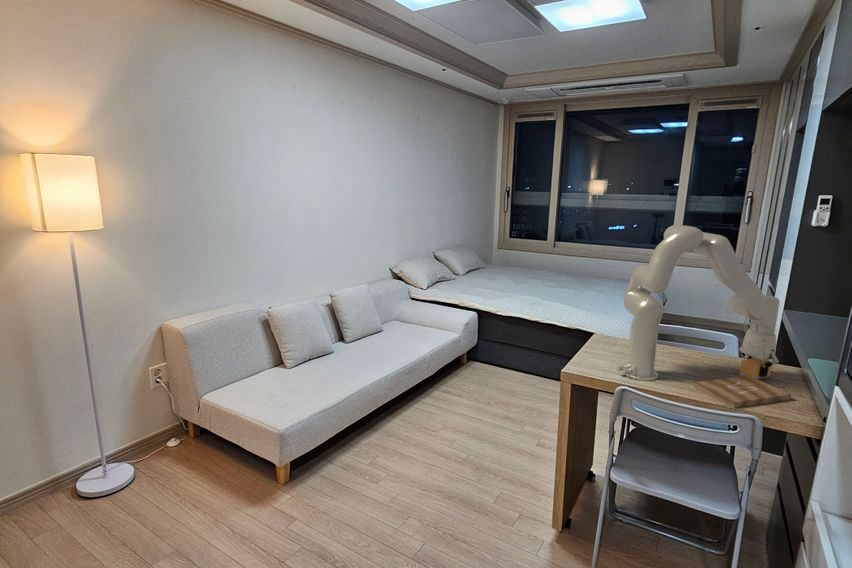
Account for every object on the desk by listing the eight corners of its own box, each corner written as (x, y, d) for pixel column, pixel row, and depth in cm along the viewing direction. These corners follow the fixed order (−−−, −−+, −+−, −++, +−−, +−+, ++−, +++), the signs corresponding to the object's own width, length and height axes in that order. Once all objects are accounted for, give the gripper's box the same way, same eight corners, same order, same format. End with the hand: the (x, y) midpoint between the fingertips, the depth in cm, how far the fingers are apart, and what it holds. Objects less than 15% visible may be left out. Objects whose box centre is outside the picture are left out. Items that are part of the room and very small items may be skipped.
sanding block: (752, 380, 167) (755, 365, 166) (739, 375, 172) (741, 360, 170) (770, 376, 171) (772, 361, 169) (756, 371, 175) (758, 356, 174)
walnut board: (733, 408, 146) (734, 402, 145) (694, 387, 161) (695, 382, 161) (790, 399, 151) (791, 394, 151) (747, 380, 167) (748, 375, 166)
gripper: (733, 322, 174) (727, 365, 178) (777, 336, 158) (769, 383, 162) (749, 321, 176) (742, 364, 180) (793, 334, 160) (785, 381, 164)
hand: (755, 372), depth 171 cm, fingers closed on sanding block, 5 cm apart
